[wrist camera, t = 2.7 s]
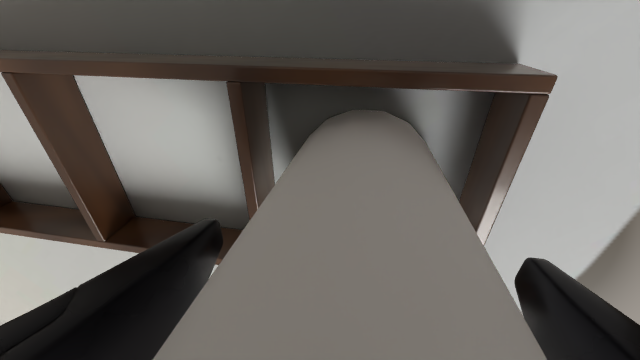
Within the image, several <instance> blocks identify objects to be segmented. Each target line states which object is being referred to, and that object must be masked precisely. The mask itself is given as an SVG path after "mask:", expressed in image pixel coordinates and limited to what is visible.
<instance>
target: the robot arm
mask: <svg viewBox="0 0 640 360" xmlns="http://www.w3.org/2000/svg"><path fill="white" fill-rule="evenodd" d="M222 246H223V235H222V231H221V227H220V223H219V221H218V220H215V219H203V220H201V221H199V222H197V223H196V224H194V225H192V226H190V227H188V228H186V229H184V230H182V231H181V232H179V233H177V234H175V235H173V236H171V237H169V238H167V239H166V240H164V241H162V242H160V243H158V244H156V245H154V246H152V247H151V248H149V249H147V250H145V251H143V252H141V253H139V254H137V255H136V256H134V257H132V258H130V259H128V260H126V261H124V262H122V263H121V264H119V265H117V266H115V267H113V268H111V269H109V270H107V271H106V272H104V273H102V274H100V275H98V276H96V277H94V278H92V279H91V280H89V281H87V282H85V283H83V284H81V285H79V287H78V288H73V289H72V290H70V291H68V292H66V293H64V294H62V295H60V296H59V297H57V298H55V299H53V300H51V301H49V302H47V303H45V304H43V305H41V306H39V307H37V308H35V309H33V310H31V311H29V312H27V313H25V314H23V315H21V316H19V317H17V318H15V319H13V320H11V321H9V322H7V323H5V324H3V325H1V326H0V360H153V358H154V357H155V356H156V354H157V353H158V351H159V350H160V348H161V347H162V346H163V344H164V343H165V341H166V340H167V338H168V337H169V336H170V334H171V333H172V331H173V330H174V328H175V327H176V326H177V324H178V323H179V321H180V320H181V318H182V317H183V315H184V314H185V313H186V311H187V310H188V308H189V307H190V305H191V304H192V303H193V301H194V300H195V298H196V297H197V295H198V294H199V293H200V291H201V290H202V288H203V287H204V285H205V284H206V283H207V281H208V280H209V277H210V275H211V272H212V270H213V268H214V265H215V263H216V260H217V258H218V256H219V253H220V251H221V248H222ZM515 288H516V291H517V295H518V298H519V302H520V305H521V309H522V312H523V316H524V319H525V321H526V323H527V325H528V326H529V328H530V330H531V332H532V333H533V335H534V337H535V339H536V341H537V342H538V344H539V346H540V348H541V350H542V351H543V353H544V355H545V357H546V358H547V360H640V325H639V324H637V323H635V322H634V321H633V320H632V319H630V318H629V317H627V316H626V315H624V314H623V313H622V312H620V311H618V310H617V309H616V308H614V307H613V306H612V305H610V304H609V303H607V302H606V301H604V300H603V299H602V298H600V297H599V296H597V295H596V294H595V293H593V292H592V291H590V290H589V289H587V288H586V287H585V286H583V285H582V284H580V283H579V282H577V281H576V280H575V279H573V278H572V277H570V276H569V275H567V274H566V273H565V272H563V271H562V270H560V269H559V268H558V267H556V266H555V265H553V264H552V263H550V262H549V261H547V260H545V259H539V258H527V259H526V260H525V261H524V263H523V264H522V266H521V268H520V270H519V271H518V273H517V275H516V277H515Z"/></svg>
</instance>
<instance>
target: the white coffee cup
mask: <svg viewBox="0 0 640 360" xmlns="http://www.w3.org/2000/svg"><path fill="white" fill-rule="evenodd" d="M153 360H547V358H546V357H545V355H544V353H543V351H542V350H541V348H540V346H539V344H538V342H537V341H536V339H535V337H534V335H533V333H532V332H531V330H530V328H529V326H528V325H527V323H526V321H525V319H524V317H523V316H522V314H521V312H520V310H519V308H518V307H517V305H516V303H515V301H514V299H513V298H512V296H511V294H510V292H509V291H508V289H507V287H506V285H505V283H504V282H503V280H502V278H501V276H500V274H499V273H498V271H497V269H496V267H495V266H494V264H493V262H492V260H491V258H490V257H489V255H488V253H487V251H486V249H485V248H484V246H483V244H482V242H481V240H480V239H479V237H478V235H477V233H476V232H475V230H474V228H473V226H472V224H471V223H470V221H469V219H468V217H467V215H466V214H465V212H464V210H463V208H462V207H461V205H460V203H459V201H458V199H457V198H456V196H455V194H454V192H453V190H452V189H451V187H450V185H449V183H448V181H447V180H446V178H445V176H444V174H443V173H442V171H441V169H440V167H439V165H438V164H437V162H436V160H435V158H434V156H433V155H432V153H431V151H430V149H429V148H428V146H427V144H426V142H425V141H424V140H423V139H422V138H421V136H420V135H419V134H418V133H417V132H416V131H415V129H414V128H413V127H412V126H411V125H410V123H408V122H406V121H404V120H401V119H399V118H397V117H395V116H393V115H391V114H389V113H387V112H385V111H375V110H351V111H348V112H345V113H343V114H340V115H337V116H334V117H331V118H328V119H327V120H326V121H325V122H324V123H322V124H321V125H320V126H319V127H318V128H317V129H316V130H315V131H314V132H313V133H312V134H310V135H309V137H308V138H307V140H306V141H305V142H304V144H303V145H302V147H301V148H300V150H299V151H298V152H297V154H296V155H295V157H294V158H293V160H292V161H291V163H290V164H289V165H288V167H287V168H286V170H285V171H284V173H283V174H282V175H281V177H280V178H279V180H278V181H277V183H276V184H275V185H274V187H273V188H272V190H271V191H270V193H269V194H268V195H267V197H266V198H265V200H264V201H263V203H262V204H261V205H260V207H259V208H258V210H257V211H256V213H255V214H254V215H253V217H252V218H251V220H250V221H249V223H248V224H247V225H246V227H245V228H244V230H243V231H242V233H241V234H240V235H239V237H238V238H237V240H236V241H235V243H234V244H233V245H232V247H231V248H230V250H229V251H228V253H227V254H226V255H225V257H224V258H223V260H222V261H221V263H220V264H219V265H218V267H217V268H216V270H215V271H214V273H213V274H212V275H211V277H210V278H209V280H208V281H207V283H206V284H205V285H204V287H203V288H202V290H201V291H200V293H199V294H198V295H197V297H196V298H195V300H194V301H193V303H192V304H191V305H190V307H189V308H188V310H187V311H186V313H185V314H184V315H183V317H182V318H181V320H180V321H179V323H178V324H177V326H176V327H175V328H174V330H173V331H172V333H171V334H170V336H169V337H168V338H167V340H166V341H165V343H164V344H163V346H162V347H161V348H160V350H159V351H158V353H157V354H156V356H155V357H154V358H153Z"/></svg>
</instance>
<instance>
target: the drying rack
mask: <svg viewBox="0 0 640 360" xmlns="http://www.w3.org/2000/svg"><path fill="white" fill-rule="evenodd" d="M0 72H2V73H1V74H2V76H3V78H4V79H5V81H6V83H7V85H8V86H9V88H10V90H11V92H12V93H13V95H14V97H15V99H16V100H17V102H18V104H19V106H20V107H21V109H22V111H23V113H24V114H25V116H26V118H27V120H28V121H29V123H30V125H31V127H32V128H33V130H34V132H35V133H36V135H37V137H38V139H39V140H40V142H41V144H42V146H43V147H44V149H45V151H46V153H47V154H48V156H49V158H50V160H51V161H52V163H53V165H54V167H55V168H56V170H57V172H58V174H59V175H60V177H61V179H62V181H63V182H64V184H65V186H66V188H67V189H68V191H69V193H70V194H71V196H72V198H73V200H74V201H75V203H76V205H77V207H78V208H79V210H78V209H70V208H62V207H54V206H46V205H38V204H30V203H22V202H14V201H12V199H11V198H10V196H9V195H8V194H7V192H6V191H5V189H4V188H3V187H2V185H1V184H0V233H5V234H12V235H19V236H26V237H33V238H39V239H46V240H53V241H60V242H67V243H73V244H80V245H87V246H94V247H101V248H108V249H114V250H121V251H128V252H135V253H141V252H143V251H145V250H147V249H149V248H151V247H152V246H154V245H156V244H158V243H160V242H162V241H164V240H166V239H167V238H169V237H171V236H173V235H175V234H177V233H179V232H181V231H182V230H184V229H186V228H188V227H190V226H192V225H194V224H190V223H182V222H174V221H166V220H158V219H150V218H142V217H135V214H134V212H133V210H132V207H131V205H130V203H129V201H128V198H127V196H126V194H125V192H124V190H123V187H122V185H121V183H120V181H119V178H118V176H117V174H116V172H115V169H114V167H113V165H112V163H111V160H110V158H109V156H108V154H107V151H106V149H105V147H104V145H103V142H102V140H101V138H100V136H99V133H98V131H97V129H96V127H95V124H94V122H93V120H92V118H91V115H90V113H89V111H88V109H87V107H86V104H85V102H84V100H83V98H82V95H81V93H80V91H79V89H78V86H77V84H76V82H75V80H74V77H73V75H84V76H109V77H133V78H158V79H182V80H207V81H228V82H227V89H228V95H229V101H230V107H231V113H232V119H233V125H234V131H235V137H236V143H237V149H238V154H239V160H240V166H241V172H242V178H243V184H244V190H245V196H246V202H247V208H248V214H249V220H251V218H252V217H253V215H254V214H255V213H256V211H257V210H258V208H259V207H260V205H261V204H262V203H263V201H264V200H265V198H266V197H267V195H268V194H269V193H270V191H271V190H272V188H273V187H274V185H275V182H274V172H273V162H272V152H271V142H270V131H269V121H268V111H267V101H266V91H265V83H280V84H304V85H329V86H353V87H378V88H402V89H427V90H451V91H476V92H495V95H494V98H493V101H492V104H491V107H490V110H489V113H488V116H487V119H486V122H485V125H484V128H483V131H482V134H481V137H480V140H479V143H478V146H477V149H476V152H475V155H474V158H473V161H472V164H471V167H470V170H469V173H468V176H467V179H466V182H465V185H464V188H463V191H462V194H461V197H460V200H459V203H460V205H461V207H462V208H463V210H464V212H465V214H466V215H467V217H468V219H469V221H470V223H471V224H472V226H473V228H474V230H475V232H476V233H477V235H478V237H479V239H480V240H481V242H482V244H483V246H484V245H485V242H486V240H487V238H488V235H489V233H490V231H491V229H492V226H493V224H494V222H495V219H496V217H497V215H498V212H499V210H500V208H501V206H502V203H503V201H504V199H505V196H506V194H507V192H508V190H509V187H510V185H511V183H512V180H513V178H514V176H515V174H516V171H517V169H518V167H519V164H520V162H521V160H522V158H523V155H524V153H525V151H526V148H527V146H528V144H529V141H530V139H531V137H532V135H533V132H534V130H535V128H536V125H537V123H538V121H539V119H540V116H541V114H542V112H543V109H544V107H545V105H546V103H547V100H548V98H549V95H547V94H550V93H551V91H552V89H553V86H554V84H555V82H556V80H557V75H554V74H551V73H548V72H544V71H541V70H538V69H535V68H532V67H528V66H525V65H522V64H512V63H474V62H436V61H398V60H360V59H322V58H284V57H246V56H208V55H170V54H132V53H94V52H56V51H18V50H0ZM221 231H222V235H223V246H222V248H221V251H220V253H219V256H218V258H217V260H216V263H215V264H217V265H219V264H220V263H221V261H222V260H223V258H224V257H225V255H226V254H227V253H228V251H229V250H230V248H231V247H232V245H233V244H234V243H235V241H236V240H237V238H238V237H239V235H240V234H241V233H242V231H243V230H238V229H230V228H222V227H221Z"/></svg>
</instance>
